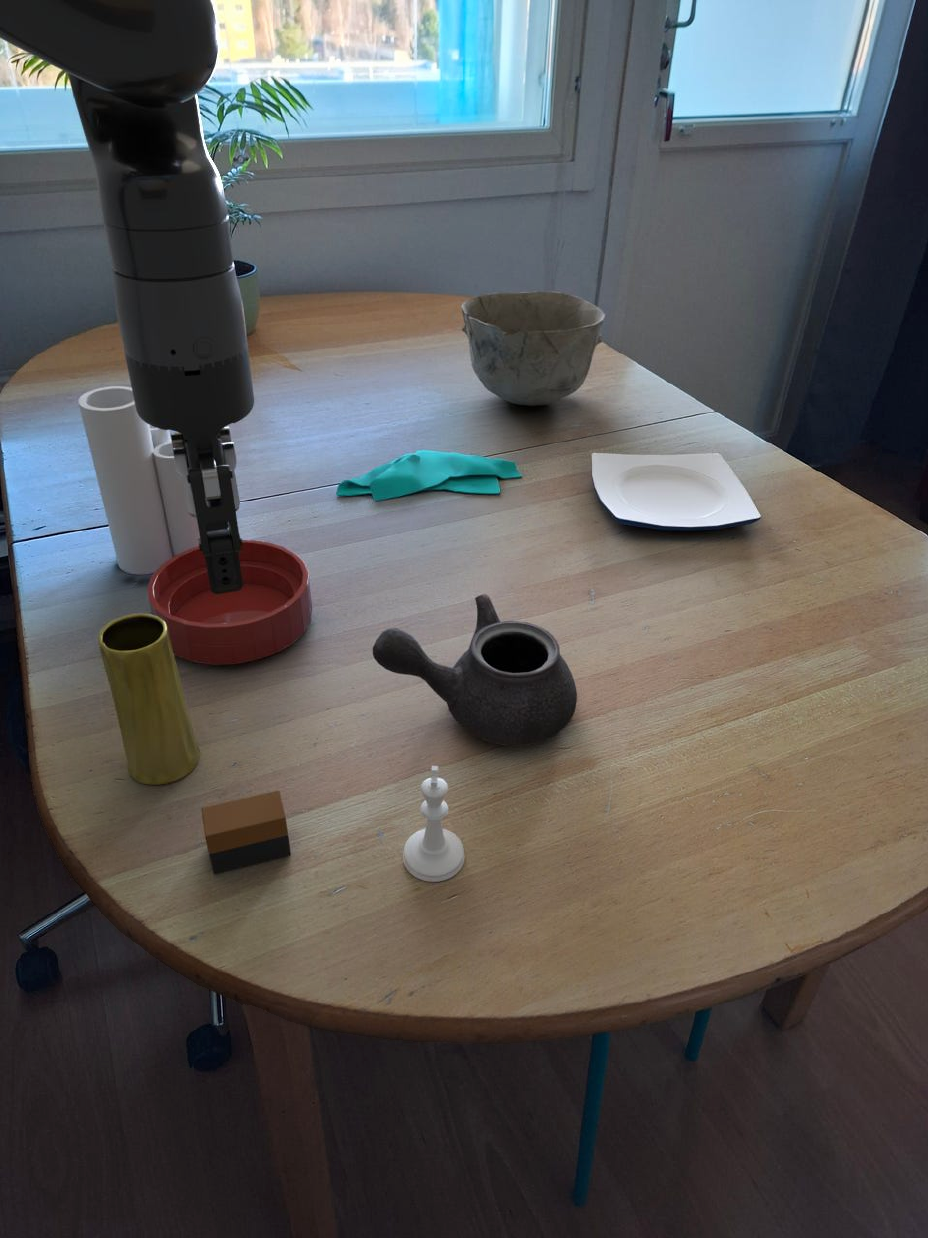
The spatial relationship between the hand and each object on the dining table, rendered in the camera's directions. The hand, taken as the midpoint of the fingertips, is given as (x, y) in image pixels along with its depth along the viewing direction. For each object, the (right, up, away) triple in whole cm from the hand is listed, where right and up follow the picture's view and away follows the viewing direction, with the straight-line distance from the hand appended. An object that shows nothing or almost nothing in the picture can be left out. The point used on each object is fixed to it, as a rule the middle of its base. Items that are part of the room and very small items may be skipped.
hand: (220, 558), depth 64 cm
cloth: (+13, +16, +58) cm, 62 cm away
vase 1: (-17, +3, +40) cm, 44 cm away
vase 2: (-9, -17, +13) cm, 23 cm away
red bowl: (-7, -5, +29) cm, 30 cm away
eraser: (+1, -23, +5) cm, 24 cm away
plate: (+46, +11, +54) cm, 72 cm away
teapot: (+19, -13, +20) cm, 30 cm away
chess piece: (+16, -24, +5) cm, 29 cm away
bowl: (+29, +32, +81) cm, 92 cm away
